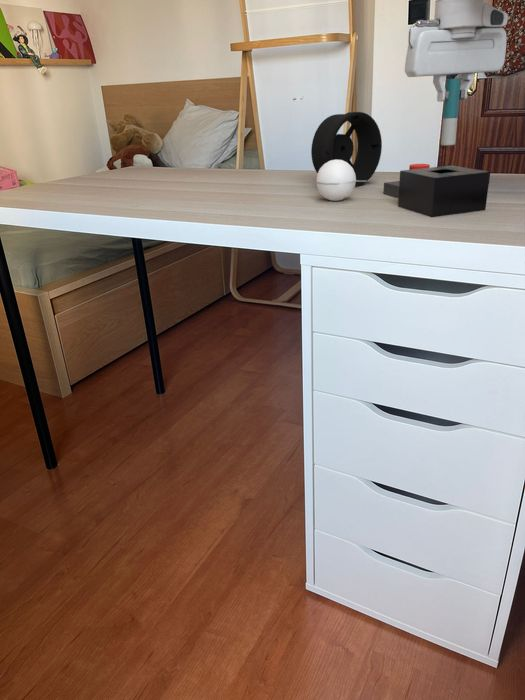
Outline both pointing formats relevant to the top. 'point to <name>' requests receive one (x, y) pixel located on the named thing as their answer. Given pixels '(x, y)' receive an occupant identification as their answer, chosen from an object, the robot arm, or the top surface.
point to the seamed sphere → (336, 180)
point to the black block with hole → (443, 190)
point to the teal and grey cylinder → (450, 112)
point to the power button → (418, 166)
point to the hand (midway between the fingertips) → (451, 100)
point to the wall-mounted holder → (348, 144)
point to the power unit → (391, 189)
